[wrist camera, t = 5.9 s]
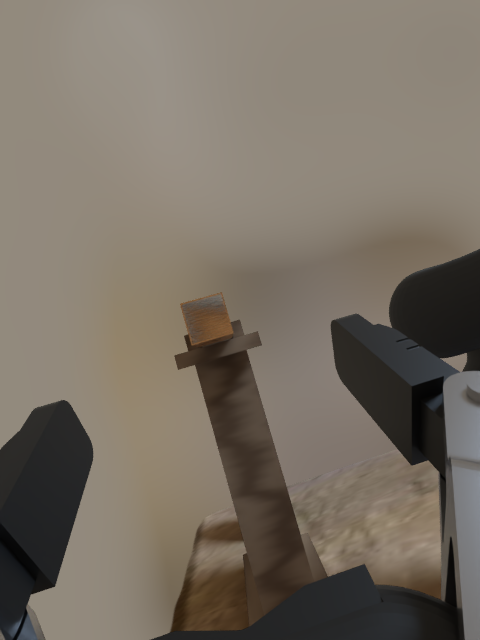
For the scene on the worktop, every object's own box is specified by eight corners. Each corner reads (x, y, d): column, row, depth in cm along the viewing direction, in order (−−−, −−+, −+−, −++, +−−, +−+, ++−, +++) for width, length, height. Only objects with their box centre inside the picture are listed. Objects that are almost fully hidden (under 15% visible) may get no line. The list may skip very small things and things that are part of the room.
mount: (311, 546, 48) (247, 327, 51) (362, 659, 30) (258, 312, 33) (246, 568, 47) (185, 345, 50) (259, 698, 29) (163, 339, 33)
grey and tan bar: (229, 344, 48) (223, 323, 48) (233, 333, 24) (221, 292, 24) (208, 350, 47) (203, 329, 48) (191, 345, 24) (180, 303, 24)
